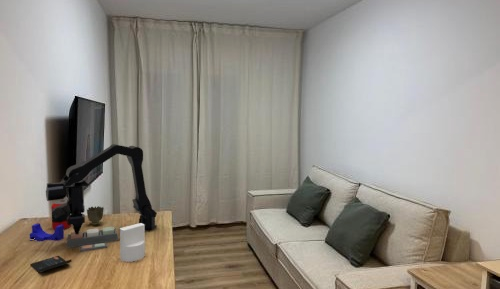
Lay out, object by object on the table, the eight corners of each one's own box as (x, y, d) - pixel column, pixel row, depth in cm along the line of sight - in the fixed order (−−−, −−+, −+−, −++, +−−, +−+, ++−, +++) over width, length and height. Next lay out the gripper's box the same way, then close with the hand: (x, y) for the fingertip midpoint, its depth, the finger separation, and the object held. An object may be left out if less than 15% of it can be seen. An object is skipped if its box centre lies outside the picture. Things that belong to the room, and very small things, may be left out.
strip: (106, 244, 137) (106, 242, 137) (107, 247, 134) (107, 245, 134) (79, 248, 132) (79, 246, 132) (79, 251, 130) (79, 249, 129)
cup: (99, 227, 156) (99, 210, 155) (84, 226, 156) (83, 210, 155) (106, 221, 163) (106, 206, 162) (91, 221, 163) (91, 205, 162)
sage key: (113, 231, 146) (113, 226, 145) (114, 235, 142) (114, 230, 142) (102, 233, 144) (102, 227, 143) (102, 236, 140) (102, 231, 140)
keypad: (116, 234, 148) (116, 227, 148) (118, 240, 141) (118, 233, 141) (66, 241, 139) (66, 234, 139) (66, 248, 133) (65, 240, 132)
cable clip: (29, 240, 139) (29, 226, 138) (37, 236, 143) (37, 223, 143) (56, 242, 138) (56, 228, 137) (63, 238, 142) (63, 224, 142)
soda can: (73, 224, 159) (72, 199, 157) (66, 230, 151) (66, 204, 150) (56, 224, 158) (55, 200, 156) (49, 230, 150) (48, 204, 149)
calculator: (58, 257, 125) (58, 249, 125) (71, 267, 118) (71, 259, 117) (30, 266, 118) (29, 258, 118) (42, 277, 111) (42, 269, 110)
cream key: (98, 233, 143) (98, 228, 143) (98, 237, 139) (98, 231, 139) (86, 235, 141) (86, 229, 141) (87, 239, 137) (87, 233, 137)
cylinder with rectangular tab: (127, 264, 121) (126, 232, 120) (115, 256, 127) (115, 226, 126) (149, 256, 128) (149, 226, 126) (137, 249, 134) (137, 220, 132)
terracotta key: (82, 236, 140) (82, 231, 140) (82, 240, 136) (82, 234, 136) (71, 238, 138) (70, 232, 138) (70, 242, 134) (70, 236, 134)
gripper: (54, 193, 140) (55, 228, 142) (51, 205, 124) (52, 245, 125) (84, 191, 145) (84, 225, 147) (84, 202, 129) (85, 241, 130)
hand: (76, 233), depth 137 cm, fingers closed, pressing on terracotta key
